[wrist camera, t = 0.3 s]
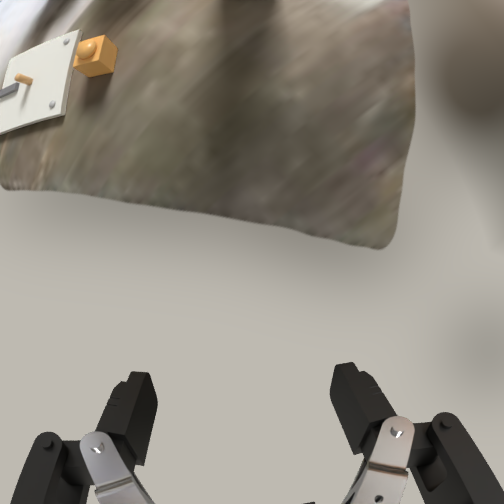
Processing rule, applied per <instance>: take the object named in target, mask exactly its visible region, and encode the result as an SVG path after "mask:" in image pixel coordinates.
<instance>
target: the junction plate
mask: <svg viewBox="0 0 504 504" xmlns="http://www.w3.org/2000/svg"><path fill="white" fill-rule="evenodd" d="M82 34H83V32H82V31H80V30H76V31H73V32H70V33H67V34H65V35H62V36H59V37H57V38H54V39H52V40H49V41H47V42H45V43H42V44H40V45H38V46H36V47H33V48H31V49H29V50H27V51H25V52H23V53H21V54H19V55H17V56H15V57H14V58H12V59H10V61H9V65H8V68H7V72H6V75H5V79H4V83H3V87H2V90H0V135H2V134H4V133H7V132H10V131H12V130H15V129H18V128H21V127H24V126H27V125H31V124H34V123H37V122H41V121H44V120H48V119H52V118H55V117H59V116H63V115H65V113H66V105H67V99H68V93H69V87H70V82H71V77H72V72H73V63H74V59H75V55H76V51H77V48H78V44H79V42H80V40H81V37H82Z"/></svg>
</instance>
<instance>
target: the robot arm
mask: <svg viewBox="0 0 504 504" xmlns="http://www.w3.org/2000/svg"><path fill="white" fill-rule="evenodd" d="M330 398H331V401H332V404H333V406H334V409H335V411H336V414H337V416H338V418H339V421H340V423H341V425H342V428H343V430H344V432H345V435H346V437H347V440H348V442H349V445H350V447H351V449H352V452H353V454H354V455H356V454H359V453H363V455H364V459H363V461H362V464H361V466H360V468H359V471H358V473H357V475H356V477H355V479H354V482H353V484H352V486H351V488H350V490H349V492H348V494H347V495H346V497H345V499H344V500H343V502H342V504H400V501H401V498H402V495H403V492H404V489H405V486H406V482H407V479H408V472H407V471H406V468H410V470H411V472H412V474H413V477H414V479H415V481H416V484H417V486H418V488H419V491H420V493H421V495H422V498H423V500H424V502H425V504H504V491H503V489H502V488H501V486H500V484H499V482H498V480H497V479H496V477H495V475H494V474H493V472H492V470H491V468H490V467H489V465H488V464H487V462H486V460H485V459H484V457H483V456H482V454H481V452H480V451H479V449H478V448H477V446H476V445H475V443H474V441H473V440H472V438H471V437H470V435H469V434H468V432H467V431H466V429H465V428H464V426H463V425H462V423H461V422H460V421H459V419H458V418H457V417H456V416H455V415H453V414H452V413H448V412H443V413H439V414H437V415H436V416H435V417H434V418H433V420H432V422H425V423H412V422H411V421H410V420H409V419H407V418H405V417H401V416H397V415H396V413H395V411H394V409H393V408H392V406H391V405H390V403H389V401H388V400H387V398H386V397H385V395H384V394H383V393H382V391H381V389H380V388H379V386H378V384H377V383H376V381H375V380H374V378H373V377H372V376H371V375H369V374H368V373H367V372H365V371H361V372H359V371H358V369H357V367H356V366H355V364H354V363H353V362H349V363H343V364H338V365H336V366H335V369H334V373H333V378H332V383H331V387H330ZM157 406H158V401H157V396H156V392H155V389H154V386H153V383H152V380H151V376H150V374H149V373H147V372H135V371H133V372H131V373H130V375H129V378H128V380H127V382H122V381H121V382H120V383H119V384H118V385H117V386H116V387H115V388H114V389H113V391H112V393H111V396H110V399H109V400H108V402H107V406H106V407H105V409H104V411H103V414H102V416H101V418H100V421H99V423H98V425H97V428H96V430H95V432H90V433H88V434H86V435H85V436H84V437H83V438H82V439H81V440H80V441H79V440H78V441H62V440H61V439H60V437H59V436H58V435H57V434H55V433H53V432H44V433H41V434H40V435H39V436H37V438H36V439H35V441H34V443H33V446H32V448H31V450H30V452H29V455H28V457H27V459H26V462H25V464H24V467H23V469H22V472H21V474H20V477H19V480H18V483H17V485H16V488H15V491H14V494H13V497H12V500H11V503H10V504H86V502H87V497H88V492H89V488H90V485H95V486H96V490H95V495H96V497H97V499H98V501H99V503H100V504H155V503H154V502H153V501H152V499H151V497H150V496H149V495H148V493H147V492H146V490H145V489H144V487H143V485H142V484H141V482H140V481H139V479H138V478H137V476H136V475H135V473H134V468H135V465H141V466H144V463H145V459H146V454H147V450H148V445H149V441H150V436H151V432H152V428H153V424H154V420H155V416H156V412H157ZM305 504H315V502H310V503H305Z"/></svg>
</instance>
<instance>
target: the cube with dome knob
mask: <svg viewBox="0 0 504 504" xmlns="http://www.w3.org/2000/svg"><path fill="white" fill-rule="evenodd" d="M117 52H118V48H117V47H116V46H115V45H114V44H113V43H112V42H111V41H110V40H109V39H108V38H107V37H106V36H105V35H102V36H98V37H94V38H91V39H87V40H84V41H81V42H79V44H78V48H77V51H76V55H75V59H74V63H73V68H75V69H77V70H78V71H80V72H81V73H83V74H85V75H86V76H88V77H93V76H98V75H103V74H107V73H113V72H114V66H115V61H116V56H117Z"/></svg>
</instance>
